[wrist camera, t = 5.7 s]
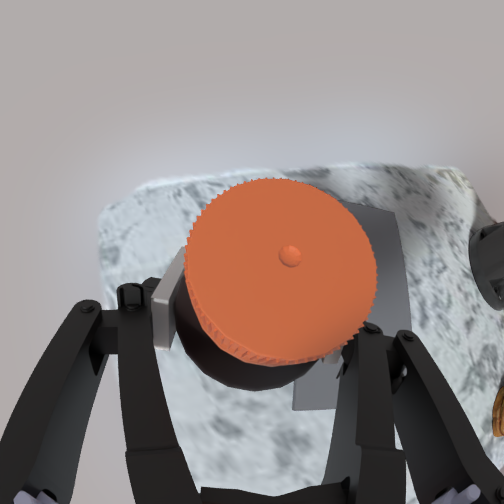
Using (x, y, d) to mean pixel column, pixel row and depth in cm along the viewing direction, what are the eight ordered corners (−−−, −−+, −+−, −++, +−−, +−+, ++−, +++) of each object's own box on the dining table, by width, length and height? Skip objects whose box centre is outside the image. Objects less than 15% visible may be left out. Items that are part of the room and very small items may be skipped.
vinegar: (257, 303, 26) (344, 147, 8) (278, 369, 24) (437, 339, 6) (189, 319, 25) (132, 172, 7) (207, 388, 22) (182, 443, 4)
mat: (391, 215, 34) (394, 212, 33) (407, 397, 23) (412, 397, 23) (296, 196, 33) (298, 193, 32) (292, 409, 22) (294, 410, 21)
